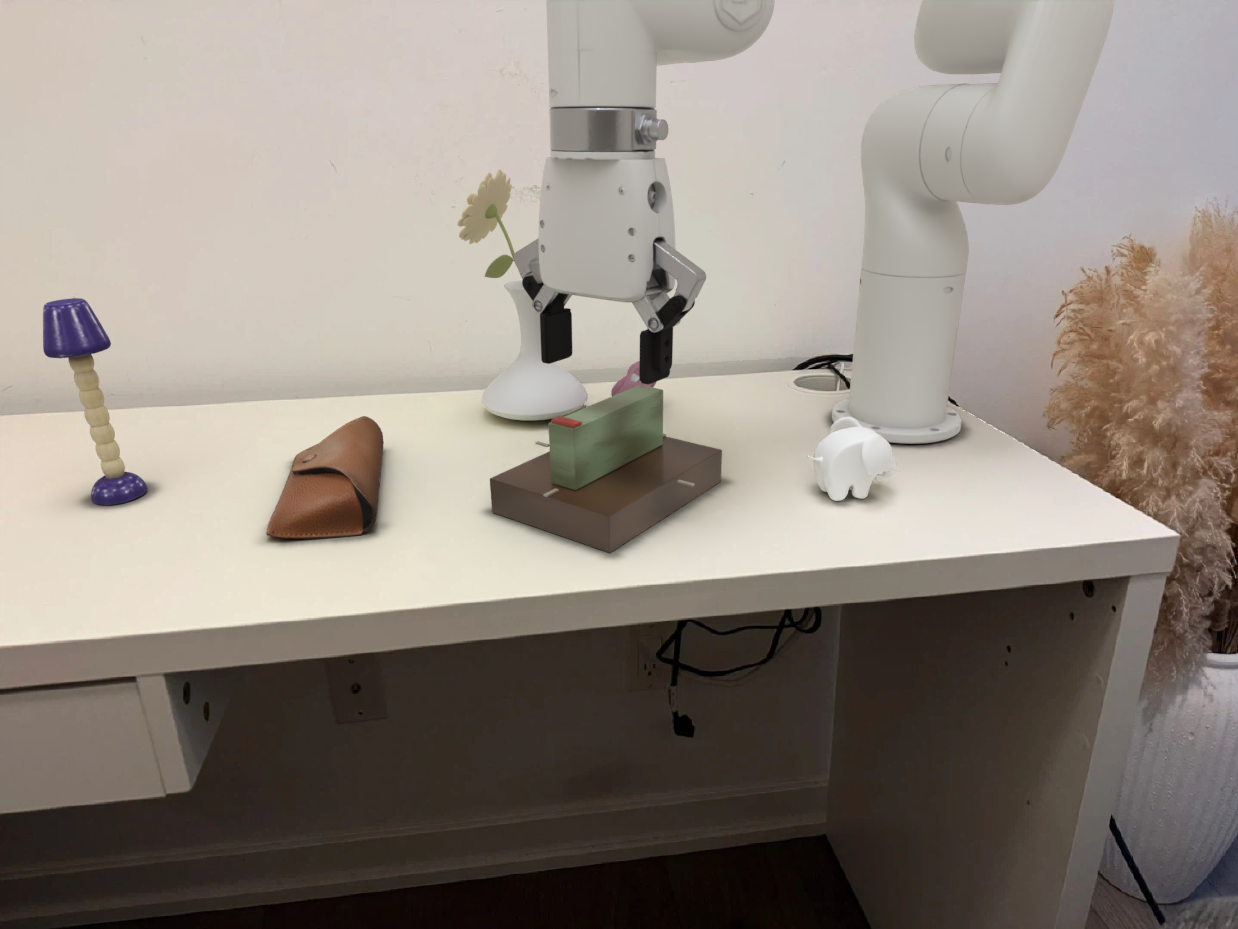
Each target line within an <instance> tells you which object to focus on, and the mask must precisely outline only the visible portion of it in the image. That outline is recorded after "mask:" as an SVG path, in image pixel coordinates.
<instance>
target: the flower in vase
mask: <svg viewBox="0 0 1238 929" xmlns="http://www.w3.org/2000/svg"><path fill="white" fill-rule="evenodd" d="M512 187H513V185H512V184H511V177H508V178H507V174H506V173H505V172H503V171H502V170H501V169H498V170H496V172H495V175H494V177H493V175H492V173H491V172H488V173H486V175H485V176H484V179H483V180H481V181H480V183H479V186H478V188H477V193H474V192H472V193H469V195H468V196H467V199H466V202H467V204H468V205H467V207H466V208H465V209H463V211H462V213H461V217H460V218H459V219H458V220H457V227H463V228H462V229H461V231H460V232H459V233H458V238H459V239H460V240H462V241H464V242H467V241H468V244H469V245H473V244H478V243H479V242H480V241H481V240H482V239H483V240H484V239H485V238H486V237H487V236H488V235H489V234H490V232H494V231H495V229H496V228H497V226H498V225H499V227H500V229H501V231H502V233H503V235H504V237H505V240H506V242H507V246H508V248H509V251H510V254H511V255H508V254H502V255H499V256H498V257H497V258H495V259H494V260H493V261H492V262H490V264H489V265H488V267H487V268H486V271H485V273H484V278H488V279H489V278H490V279H499V278H502V277H503V276H504V275H505V274H506V273H507V272H508V271H509V269H510V267H511V266H512V265H513V262H514V263H515V260H514V254H515V253H516V252H515V249H514V247H513V244H512V241H511V237H510V236H509V233H508V231H507V229H506V227H505V225H504V223H503V221H502V218H503V217H504V216H503V215H504V214H505V213H506V211H507V209H508V204H507V203H508V202H509V200H510V199H511V191H512ZM515 267H517V265H516V263H515ZM539 267H540V265H539ZM521 279H522V280H514V281H509V282H506V283H505V284H504V285H503V287H504V289H505V290H506V291H507V292H508V293H509V295H510V297H511V298H512V300H513V303H514V305H515V308H516V312H517V317H518V323H519V332H520V348H519V353H518V355H517V357H516V358H515V359H514V361H513V362H512V363H511V364H510V365H509V366H508V367H506V369H504V370H503V371H502V372H501V373H500V374H499V375H497V376H496V377H495V378H494V379H493V380H492V381H491V382H490V383H489V385H487V387H486V388H485V389H484V391H483V393H482V396H481V399H480V401H481V404H482V406H483V407H484V408H485V409H486V411H487V412H489V413H490V414H492V415H495V416H498V417H500V418H501V417H502V418H505V419H508V420H515V421H529V422H530V421H545V420H552V419H554V418H557V417H559V416H561V417H564V416H567V415H569V414H571V413H574V412H576V411H579V410H581V409H582V407H583V406H584V405H585V404H586V402H587V400H588V398H589V395H588V392H587V390H586V387H585V385H583V384H582V383H581V381H579V379H577V378H576V377H575V376H574V375H572V374H571V373H570V372H568V371H567V370H565V369H564V368H563V367H562V366H560V365H558V364H557V362H553V363H550V364H547V363H543V362H542V360H541V333H540V313H536V312H535V311H534V309H533V307H532V303H533V301H532V299H531V298H530V296H529V295H528V293H527V292H526V291H525V289H524V287H523V285H522V281H523V277H521Z"/></svg>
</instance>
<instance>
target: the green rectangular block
mask: <svg viewBox="0 0 1238 929" xmlns="http://www.w3.org/2000/svg"><path fill="white" fill-rule="evenodd" d="M547 426H548V444H549V451H550V467H551V483H553V484H556V485H559V486H563V487H566V488H569V489H573V490H577V489H579V488H581V487H583V486H585V485H587V484H589V483H591V482H592V481H594V480H596V479H598V478H600V477H602V476H604V475H606V474H608V473H610V472H611V471H613V470H615V469H617V468H619V467H621V466H623V465H625V464H627V463H629V462H630V461H632V460H634V459H636V458H638V457H640V456H642V455H644V454H646V453H648V452H649V451H651V450H653V449H655V448H657V447H659V446H661V445H663V434H664V389H661V388H657V387H653V388H652V387H647V386H642V385H638V386H636V387H634V388H631V389H629V390H626V391H624V392H622V393H619V394H617V395H614V396H612V395H611V396H610V397H607V398H605V399H602V400H600V401H598V402H595V403H593V404H591V405H588V406H586V407H584V408H580V409H578V410H576V411H574V412H572V413H570V414H567V415H564V416H559V417H557V418H552V419H550V422H548V425H547Z"/></svg>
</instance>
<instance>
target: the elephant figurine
mask: <svg viewBox="0 0 1238 929" xmlns="http://www.w3.org/2000/svg"><path fill="white" fill-rule="evenodd" d="M806 457H807V458H808V459H811V460H813V469H814V470H813V471H814V475H815V479H816V482H817V485H818V487H819V488H820V490H821V491H822V492H824V493H827V494H828V497H829V498H830V500H832V501H835V502H840V501H843V500H845V498H847V496H848V494H849V491H851V495H852V496H853V498H856V499H860V500H861V499H866V498H867V496H868V495H869V492H870V488H871V485H872V483H873V482H874V480H876V481H877V482H879V483H883V482H885V481H886V480H888V479H889V478H890V477H891V476H892V475H893V474H894V472H896V473H899V472H900V470H898V469H897V462H896V459H895V457H894V452H893V448H892V446H891V443H890V442H888V441H887V440H886V439H884V438H883V437H882V436H880V435H879V434H877V433H876V432H875V431H873V430H871V429H868V428H865V427H862V426H861V425H860V424H859V422H858V421H857V420H856V419H854V418H852V417H843V418H840V419H838V420H836V421H835V422H833V423H832V424H831V425H830V427H829V430H828V435H826V436H825V437H824V438H823V439H822V440H821V441H820V442H819V443H818V445H817V446H816V448H815V451H814V454H813V457H812V456H810V455H809V454H808V455H807V456H806Z"/></svg>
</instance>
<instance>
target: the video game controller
mask: <svg viewBox="0 0 1238 929" xmlns="http://www.w3.org/2000/svg"><path fill="white" fill-rule="evenodd" d="M639 366H640V360H638V361H636V362H633V363H632V364H630V366H629V368H628V369H627V372H626V375H625V376H623V377H622V378H620V379H619V380H618V381H616V383H615V384H613V387H612V388H611V391H610V392H611V393H610V395H611V397H612V396H614V395H617V394H619V393H622V392H624V391H626V390H629V389H631V388H634V387H636V386H638V385H642V386H647V387H652V388H655V385H656V384H657V382H654V383H651V384H649V385H648V384H643V383H641V381H640V379H639Z"/></svg>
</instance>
